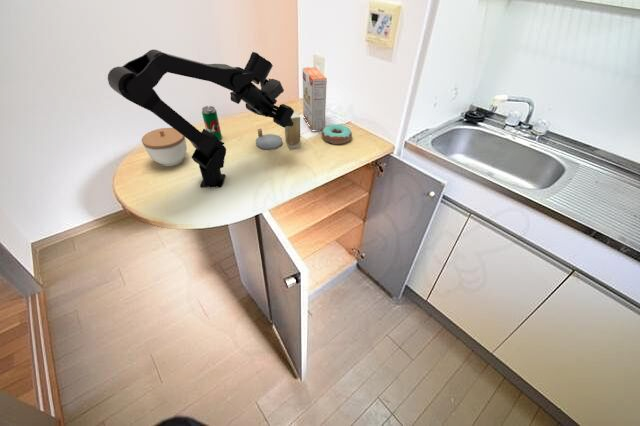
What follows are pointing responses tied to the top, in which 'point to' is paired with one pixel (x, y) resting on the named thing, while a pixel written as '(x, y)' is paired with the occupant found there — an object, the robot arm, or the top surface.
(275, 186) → the top surface
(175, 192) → the top surface
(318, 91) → the cracker box
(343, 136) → the donut
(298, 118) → the skincare box
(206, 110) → the soda can
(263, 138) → the flange disc
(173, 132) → the lidded bowl
